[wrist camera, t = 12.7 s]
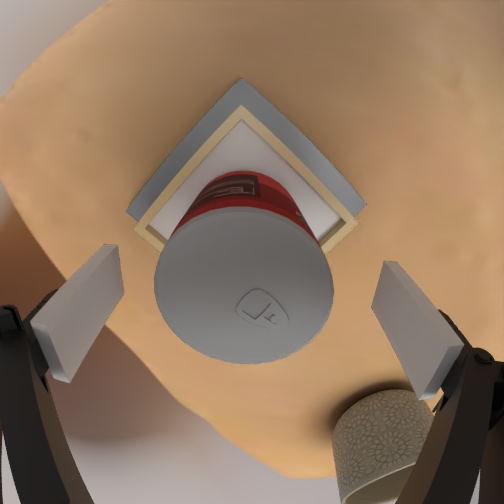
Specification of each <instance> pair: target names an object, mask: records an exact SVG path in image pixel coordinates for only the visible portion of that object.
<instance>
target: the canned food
mask: <svg viewBox="0 0 504 504" xmlns="http://www.w3.org/2000/svg"><path fill="white" fill-rule="evenodd" d="M154 292H155V296H156V301H157V305H158V308H159V310H160V312H161V314H162V316H163V318H164V320H165V321H166V323H167V324H168V326H169V327H170V328H171V330H172V331H173V332H174V333H175V334H176V335H177V336H178V337H179V338H180V339H181V340H182V341H183V342H184V343H186V344H187V345H189V346H190V347H192V348H193V349H195V350H196V351H198V352H200V353H202V354H204V355H207V356H209V357H211V358H214V359H218V360H221V361H224V362H230V363H237V364H260V363H267V362H272V361H275V360H279V359H282V358H285V357H287V356H289V355H291V354H293V353H295V352H297V351H299V350H300V349H302V348H303V347H304V346H306V345H307V344H308V343H310V342H311V341H312V340H313V339H314V338H315V337H316V336H317V334H318V333H319V332H320V331H321V329H322V328H323V326H324V324H325V323H326V321H327V320H328V317H329V314H330V311H331V308H332V304H333V295H334V288H333V280H332V275H331V271H330V267H329V265H328V262H327V259H326V257H325V254H324V252H323V251H322V249H321V246H320V244H319V242H318V241H317V239H316V237H315V235H314V234H313V232H312V230H311V228H310V227H309V225H308V223H307V221H306V220H305V218H304V216H303V215H302V213H301V211H300V210H299V208H298V206H297V205H296V203H295V201H294V200H293V198H292V197H291V195H290V194H289V192H288V191H287V190H286V189H285V188H284V187H283V186H282V185H281V184H280V183H279V182H277V181H275V180H274V179H272V178H271V177H269V176H266V175H264V174H261V173H258V172H253V171H234V172H229V173H226V174H223V175H221V176H219V177H216V178H215V179H214V180H212V181H211V182H209V183H208V184H207V185H206V186H205V187H204V188H203V189H202V190H201V192H200V193H199V194H198V196H197V197H196V199H195V200H194V202H193V203H192V204H191V206H190V207H189V209H188V210H187V212H186V213H185V214H184V216H183V217H182V219H181V220H180V222H179V223H178V225H177V226H176V228H175V229H174V231H173V232H172V234H171V236H170V238H169V239H168V241H167V243H166V245H165V246H164V248H163V250H162V252H161V254H160V257H159V260H158V263H157V267H156V271H155V275H154Z"/></svg>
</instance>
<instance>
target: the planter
mask: <svg viewBox="0 0 504 504" xmlns="http://www.w3.org/2000/svg"><path fill="white" fill-rule="evenodd" d="M433 419H434V415H433V413H432V411H431V410H430V408H429V406H428V405H427V403H426V402H425V401H424V400H418V398H417V396H416V394H415V393H413V392H411V391H407V390H400V389H392V390H384V391H380V392H377V393H374V394H371V395H369V396H366V397H364V398H363V399H361V400H359V401H358V402H356V403H355V404H353V405H352V406H351V407H350V408H349V409H348V410H347V411H346V412H345V413H344V414H343V415H342V416H341V417H340V419H339V420H338V422H337V423H336V425H335V428H334V431H333V435H332V448H333V455H334V461H335V468H336V475H337V482H338V488H339V495H340V500H341V504H386V503H389V502H392V501H395V500H397V499H398V498H399V496H400V494H401V492H402V490H403V488H404V486H405V484H406V482H407V480H408V478H409V476H410V474H411V472H412V470H413V468H414V465H415V463H416V461H417V459H418V457H419V454H420V452H421V450H422V447H423V445H424V442H425V440H426V437H427V435H428V432H429V430H430V427H431V424H432V422H433Z"/></svg>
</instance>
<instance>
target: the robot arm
mask: <svg viewBox="0 0 504 504" xmlns="http://www.w3.org/2000/svg"><path fill="white" fill-rule="evenodd" d="M123 295H124V287H123V280H122V273H121V266H120V258H119V250H118V245H112V244H104V245H103V246H102V247H101V248H100V249H99V250H98V251H97V252H96V253H95V254H94V255H93V256H92V257H91V258H89V259H88V260H87V261H86V262H85V263H84V264H83V265H82V266H81V267H80V268H79V269H78V270H77V271H76V272H75V273H74V274H73V275H72V276H71V277H70V278H69V279H68V281H67V282H66V283H65V284H64V285H63V286H62V287H61V288H60V289H55V290H54V291H52V292H51V293H49V294H47V295H46V296H45V297H44V299H43V300H42V301H41V302H40V303H39V304H38V305H37V306H36V308H34V309H33V310H32V311H31V313H30V314H29V315H28V316H27V317H26V318H25V319H24V320H23V321H22V320H21V318H20V315H19V312H18V309H17V307H15V306H14V305H3V306H0V504H3V499H2V477H1V454H2V451H1V450H2V432H3V435H4V440H5V446H6V450H7V455H8V460H9V464H10V468H11V472H12V476H13V479H14V483H15V486H16V490H17V493H18V496H19V499H20V502H21V504H94V502H93V500H92V498H91V496H90V494H89V492H88V490H87V488H86V486H85V484H84V482H83V480H82V478H81V476H80V473H79V471H78V468H77V466H76V464H75V461H74V459H73V456H72V454H71V451H70V449H69V446H68V444H67V441H66V438H65V435H64V433H63V430H62V427H61V424H60V421H59V418H58V415H57V412H56V409H55V405H54V402H53V398H52V395H51V392H50V387H49V383H48V380H47V378H46V376H45V373H46V372H47V370H48V368H49V369H50V371H51V373H52V375H53V377H54V378H55V379H58V380H61V381H65V382H68V383H70V381H71V379H72V378H73V376H74V374H75V372H76V371H77V369H78V367H79V365H80V364H81V362H82V360H83V359H84V357H85V355H86V354H87V352H88V350H89V348H90V347H91V345H92V343H93V342H94V340H95V339H96V337H97V335H98V334H99V332H100V330H101V329H102V327H103V326H104V324H105V322H106V321H107V319H108V318H109V316H110V315H111V313H112V311H113V310H114V308H115V307H116V305H117V304H118V302H119V301H120V299H121V298H122V296H123ZM371 308H372V310H373V311H374V313H375V315H376V317H377V319H378V321H379V322H380V324H381V326H382V328H383V330H384V332H385V334H386V336H387V337H388V339H389V341H390V343H391V345H392V347H393V349H394V351H395V353H396V355H397V357H398V359H399V361H400V363H401V365H402V367H403V369H404V371H405V373H406V375H407V377H408V379H409V381H410V383H411V385H412V387H413V389H414V391H415V394H416V396H417V398H418V400H423V399H429V398H434V396H435V395H436V393H437V392H438V390H439V388H440V387H441V388H442V390H443V392H444V394H443V396H442V397H441V399H440V400H439V402H438V403H437V405H436V406H435V408H434V409H433V411H432V412H435V411H436V413H435V416H434V419H433V422H432V424H431V427H430V430H429V432H428V435H427V437H426V440H425V442H424V445H423V447H422V450H421V452H420V454H419V457H418V459H417V461H416V463H415V465H414V468H413V470H412V472H411V474H410V476H409V478H408V480H407V482H406V484H405V486H404V488H403V490H402V492H401V494H400V496H399V498H398V499H397V501H396V503H395V504H470V501H471V498H472V495H473V492H474V488H475V485H476V481H477V478H478V474H479V470H480V488H479V489H480V490H479V502H478V504H504V362H500V361H495V360H494V358H493V356H492V355H491V354H490V353H489V352H488V351H486V350H484V349H481V348H473V347H472V346H471V345H470V343H469V342H468V341H467V339H466V338H465V337H464V335H463V334H462V333H461V332H460V330H458V328H457V326H456V325H455V324H454V323H453V321H452V320H451V319H450V318H449V316H448V315H446V314H445V313H444V312H442V311H441V310H437V308H436V307H435V306H434V305H433V303H432V302H431V301H430V300H429V299H428V297H427V296H426V295H425V294H424V293H423V291H422V290H421V289H420V288H419V287H418V285H417V284H416V283H415V282H414V281H413V280H412V278H411V277H410V276H409V275H408V274H407V273H406V271H405V270H404V269H403V268H402V267H401V266H400V265H399V264H398V262H396V261H384V262H383V266H382V270H381V274H380V278H379V281H378V285H377V289H376V292H375V296H374V299H373V302H372V306H371ZM436 409H437V410H436Z"/></svg>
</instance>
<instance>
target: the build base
mask: <svg viewBox="0 0 504 504" xmlns="http://www.w3.org/2000/svg"><path fill="white" fill-rule="evenodd" d="M234 171H253V172H258V173H261V174H264V175H266V176H269V177H271V178H272V179H274V180H275V181H277V182H279V183H280V184H281V185H282V186H283V187H284V188H285V189H286V190H287V191H288V192H289V194H290V195H291V197H292V198H293V200H294V201H295V203H296V205H297V206H298V208H299V210H300V211H301V213H302V215H303V216H304V218H305V220H306V221H307V223H308V225H309V227H310V228H311V230H312V232H313V234H314V235H315V237H316V239H317V241H318V242H319V244H320V246H321V249H322V251H323V252H324V254H326V253H327V252H328V251H329V250H330V249H331V248H333V247H334V246H335V245H336V244H337V243H338V242H339V241H340V240H341V239H342V238H343V237H344V236H345V235H347V234H348V233H349V232H350V231H351V230H352V229H353V228H354V227H355V226H356V225H357V224H358V222H357V220H356V219H355V218H354V216H356V215H357V214H358V213H359V212H360V211H361V210H362V209H363V208H364V207H365V206H366V205H367V203H366V202H365V201H364V200H363V199H362V198H361V196H360V195H359V194H358V193H357V192H356V191H355V189H354V188H353V187H352V186H351V185H350V184H349V182H348V181H347V180H346V179H345V178H344V177H343V176H342V175H341V174H340V172H339V171H338V170H337V169H336V168H335V167H334V166H333V165H332V164H331V163H330V162H329V160H328V159H327V158H326V157H325V156H324V155H323V154H322V153H321V152H320V151H319V150H318V149H317V148H316V147H315V146H314V145H313V144H312V143H311V142H310V141H309V140H308V139H307V138H306V136H305V135H304V134H303V133H302V132H301V131H300V130H299V129H298V128H296V127H295V126H294V125H293V124H292V123H291V122H290V121H289V120H288V119H287V118H286V117H285V116H284V115H283V114H282V113H281V112H280V111H279V110H278V109H277V108H276V107H275V106H274V105H272V104H271V103H270V102H269V101H268V100H267V99H266V98H265V97H264V96H263V95H261V94H260V93H259V92H258V91H257V90H256V89H255V88H254V87H252V86H251V85H250V84H249V83H248V82H247V81H246V80H244V79H243V78H241V79H240V80H239V81H238V82H237V83H236V84H235V85H234V86H232V87H231V88H230V89H229V90H228V91H227V92H226V94H225V95H224V96H223V97H222V98H221V99H220V100H219V101H218V102H217V103H216V104H215V105H214V106H213V107H212V108H211V109H210V110H209V111H208V112H207V113H206V114H205V115H204V116H203V118H202V119H201V120H200V121H199V122H198V123H197V124H196V125H195V126H194V127H193V129H192V130H191V131H190V132H189V133H188V134H187V135H186V136H185V138H184V139H183V140H182V141H181V142H180V143H179V144H178V146H177V147H176V148H175V149H174V150H173V151H172V153H171V154H170V155H169V156H168V157H167V159H166V160H165V161H164V162H163V163H162V165H161V166H160V167H159V168H158V170H157V171H156V172H155V173H154V175H153V176H152V177H151V178H150V180H149V181H148V182H147V183H146V185H145V186H144V187H143V189H142V190H141V191H140V193H139V194H138V195H137V197H136V198H135V199H134V201H133V202H132V203H131V205H130V206H129V207H128V209H127V210H126V212H127V213H129V214H130V215H131V216H132V217H133V218H134V219H135V220H137V221H138V223H137V225H136V226H135V227H134V229H133V230H134V231H136V232H137V233H138V234H139V235H140V236H141V237H143V238H144V239H145V240H146V241H147V242H149V243H150V244H151V245H152V246H153V247H155V248H156V249H157V250H158V251H159V252H162V250H163V248H164V246H165V245H166V243H167V241H168V239H169V238H170V236H171V234H172V232H173V231H174V229H175V228H176V226H177V225H178V223H179V222H180V220H181V219H182V217H183V216H184V214H185V213H186V212H187V210H188V209H189V207H190V206H191V204H192V203H193V202H194V200H195V199H196V197H197V196H198V194H199V193H200V192H201V190H202V189H203V188H204V187H205V186H206V185H207V184H208V183H209V182H211V181H212V180H214V179H215V178H216V177H219V176H221V175H223V174H226V173H229V172H234Z"/></svg>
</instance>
